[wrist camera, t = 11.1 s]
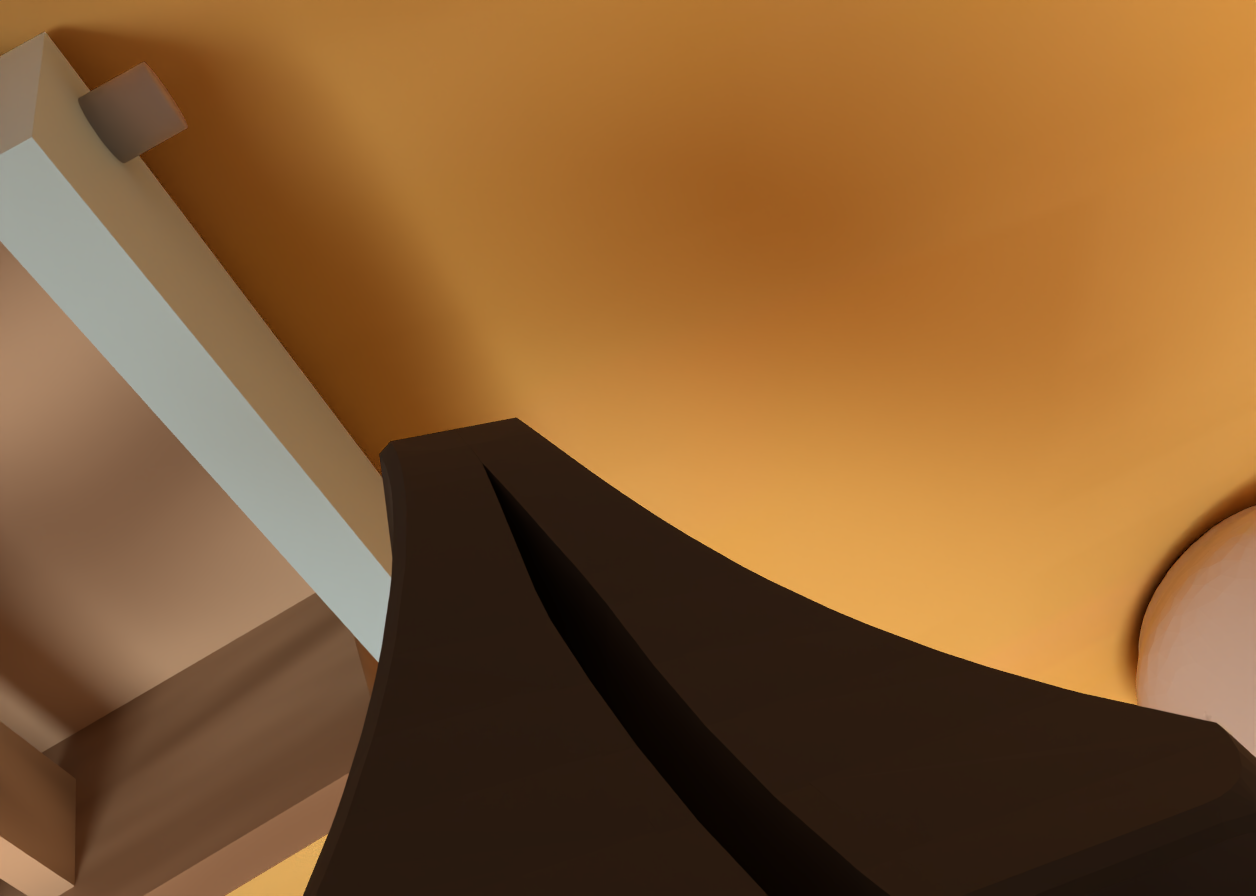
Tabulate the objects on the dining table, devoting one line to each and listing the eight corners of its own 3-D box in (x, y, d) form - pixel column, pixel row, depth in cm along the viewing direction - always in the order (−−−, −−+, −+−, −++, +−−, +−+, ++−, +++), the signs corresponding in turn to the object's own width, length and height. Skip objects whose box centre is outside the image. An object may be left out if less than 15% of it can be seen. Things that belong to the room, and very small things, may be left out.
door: (476, 520, 23) (549, 679, 20) (391, 571, 23) (449, 740, 19) (108, -4, 16) (114, 91, 12) (-19, 66, 16) (-52, 183, 12)
